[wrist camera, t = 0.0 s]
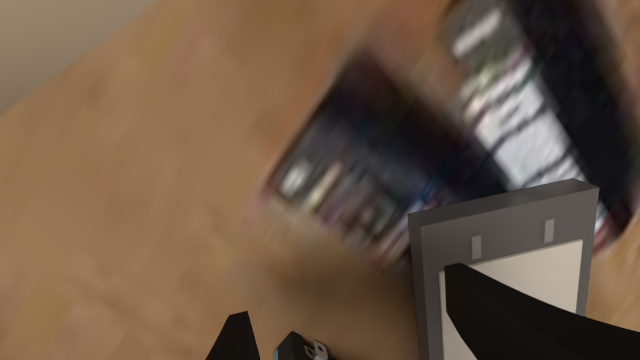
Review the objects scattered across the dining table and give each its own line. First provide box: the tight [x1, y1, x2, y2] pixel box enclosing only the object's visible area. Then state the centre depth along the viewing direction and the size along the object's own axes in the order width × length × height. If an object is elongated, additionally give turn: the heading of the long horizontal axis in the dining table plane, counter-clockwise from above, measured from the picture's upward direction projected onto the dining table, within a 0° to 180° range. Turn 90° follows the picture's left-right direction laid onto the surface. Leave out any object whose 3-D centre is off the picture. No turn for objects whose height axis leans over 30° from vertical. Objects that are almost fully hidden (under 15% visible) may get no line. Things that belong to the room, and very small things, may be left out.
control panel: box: [408, 178, 599, 360], centre depth 26 cm, size 20×12×3 cm, turn 9°
